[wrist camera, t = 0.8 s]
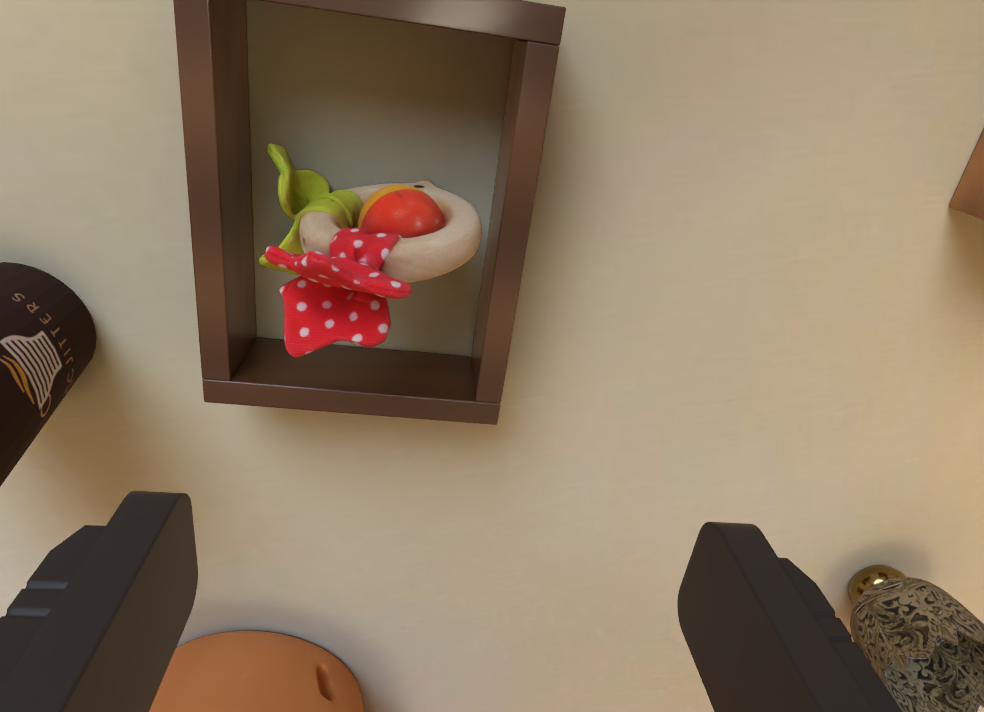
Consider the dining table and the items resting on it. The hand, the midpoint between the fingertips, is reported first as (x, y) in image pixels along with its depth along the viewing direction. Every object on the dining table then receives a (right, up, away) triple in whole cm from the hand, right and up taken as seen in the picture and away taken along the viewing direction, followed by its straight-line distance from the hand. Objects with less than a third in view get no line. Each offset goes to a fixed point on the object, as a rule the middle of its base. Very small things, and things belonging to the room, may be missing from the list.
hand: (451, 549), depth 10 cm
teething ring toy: (-5, +10, +20) cm, 23 cm away
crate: (-5, +10, +19) cm, 22 cm away
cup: (+26, -12, +33) cm, 44 cm away
